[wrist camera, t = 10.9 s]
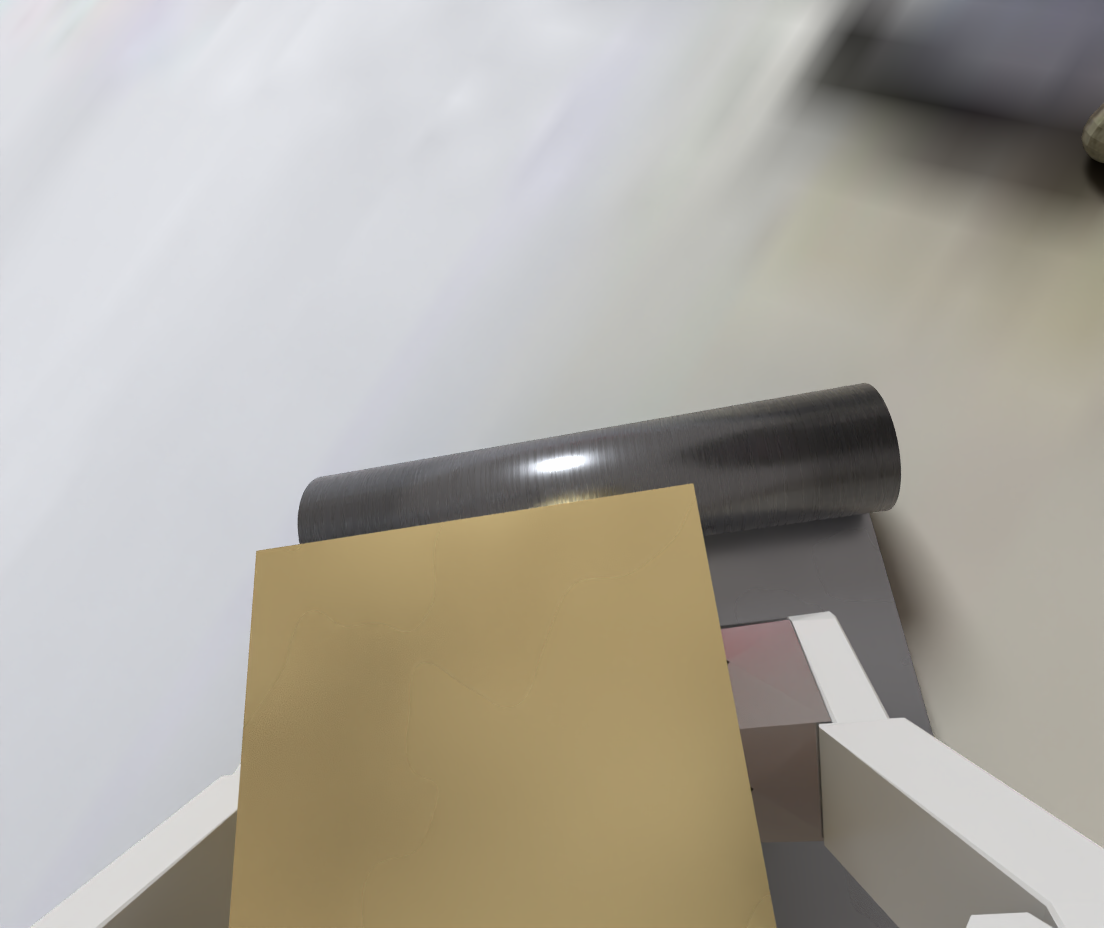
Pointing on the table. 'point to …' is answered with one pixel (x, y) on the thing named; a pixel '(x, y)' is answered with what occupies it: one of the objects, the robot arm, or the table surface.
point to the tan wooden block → (496, 729)
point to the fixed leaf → (709, 544)
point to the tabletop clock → (1095, 135)
